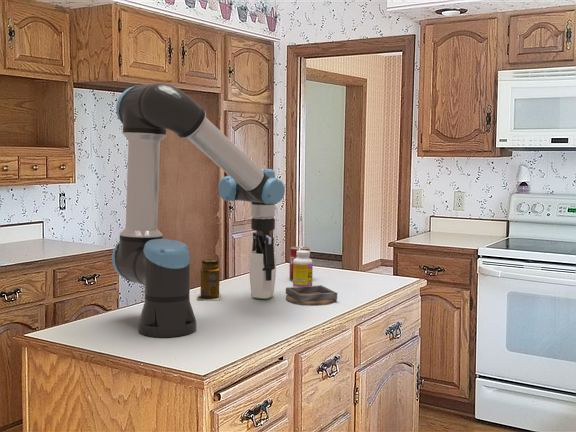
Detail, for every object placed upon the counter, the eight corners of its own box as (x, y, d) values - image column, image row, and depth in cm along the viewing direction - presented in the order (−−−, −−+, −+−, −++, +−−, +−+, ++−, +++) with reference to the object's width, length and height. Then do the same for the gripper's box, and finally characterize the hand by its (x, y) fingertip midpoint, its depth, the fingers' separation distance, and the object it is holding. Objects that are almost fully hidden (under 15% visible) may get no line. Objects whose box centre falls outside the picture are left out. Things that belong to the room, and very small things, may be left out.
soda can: (309, 282, 244) (310, 249, 243) (289, 282, 244) (289, 249, 243) (309, 278, 251) (309, 246, 250) (289, 278, 251) (289, 246, 250)
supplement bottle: (309, 290, 230) (310, 253, 229) (290, 289, 232) (291, 252, 230) (314, 286, 236) (314, 250, 235) (295, 285, 238) (296, 249, 237)
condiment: (221, 294, 222) (221, 258, 221) (219, 300, 214) (219, 263, 213) (199, 294, 222) (199, 258, 221) (196, 300, 214) (196, 262, 213)
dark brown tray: (297, 307, 206) (297, 297, 206) (278, 295, 221) (279, 286, 221) (344, 303, 212) (344, 293, 212) (323, 292, 227) (324, 283, 227)
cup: (257, 294, 223) (258, 249, 222) (277, 296, 220) (278, 251, 218) (247, 298, 217) (247, 252, 215) (267, 301, 213) (267, 254, 212)
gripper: (286, 220, 207) (285, 293, 209) (263, 213, 227) (262, 280, 229) (262, 221, 204) (262, 295, 207) (241, 214, 224) (241, 281, 227)
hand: (262, 287), depth 218 cm, fingers closed on cup, 9 cm apart
